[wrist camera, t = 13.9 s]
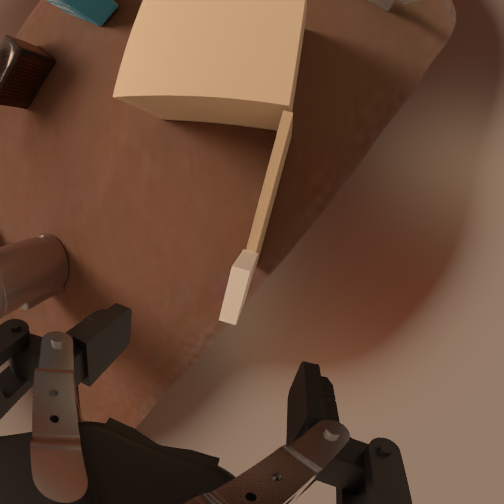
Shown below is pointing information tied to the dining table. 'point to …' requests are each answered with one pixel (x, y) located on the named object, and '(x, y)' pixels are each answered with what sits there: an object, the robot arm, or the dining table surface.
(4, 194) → the dining table surface
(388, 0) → the lighter
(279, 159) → the beige wooden slab
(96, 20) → the data package
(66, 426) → the robot arm
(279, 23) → the carton
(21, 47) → the pepper mill
